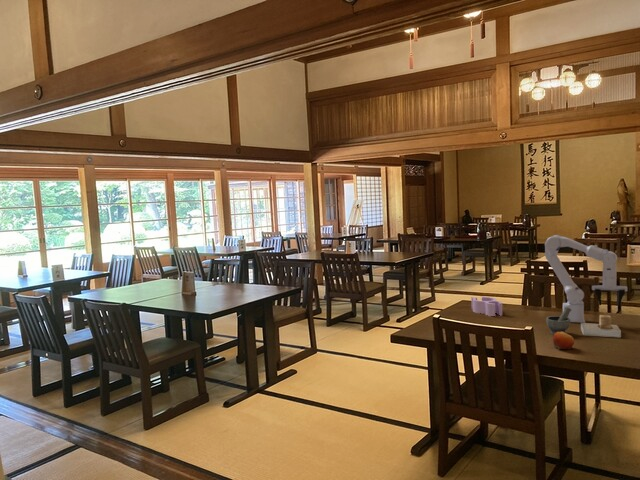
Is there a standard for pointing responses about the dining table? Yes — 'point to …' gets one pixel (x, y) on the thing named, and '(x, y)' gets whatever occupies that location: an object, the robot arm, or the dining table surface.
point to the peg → (605, 322)
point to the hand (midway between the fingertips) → (609, 305)
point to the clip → (486, 306)
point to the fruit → (563, 340)
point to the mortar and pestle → (559, 322)
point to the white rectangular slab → (600, 330)
